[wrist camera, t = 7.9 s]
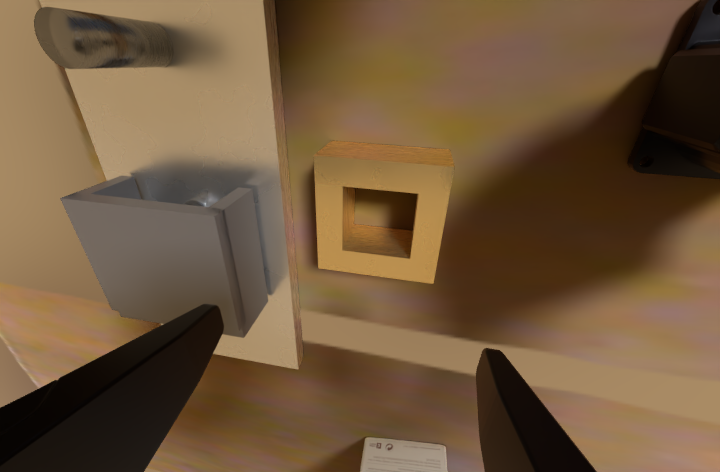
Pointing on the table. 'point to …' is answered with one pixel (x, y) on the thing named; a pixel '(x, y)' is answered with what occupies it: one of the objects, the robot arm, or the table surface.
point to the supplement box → (402, 456)
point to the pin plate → (191, 122)
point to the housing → (172, 253)
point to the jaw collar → (378, 244)
